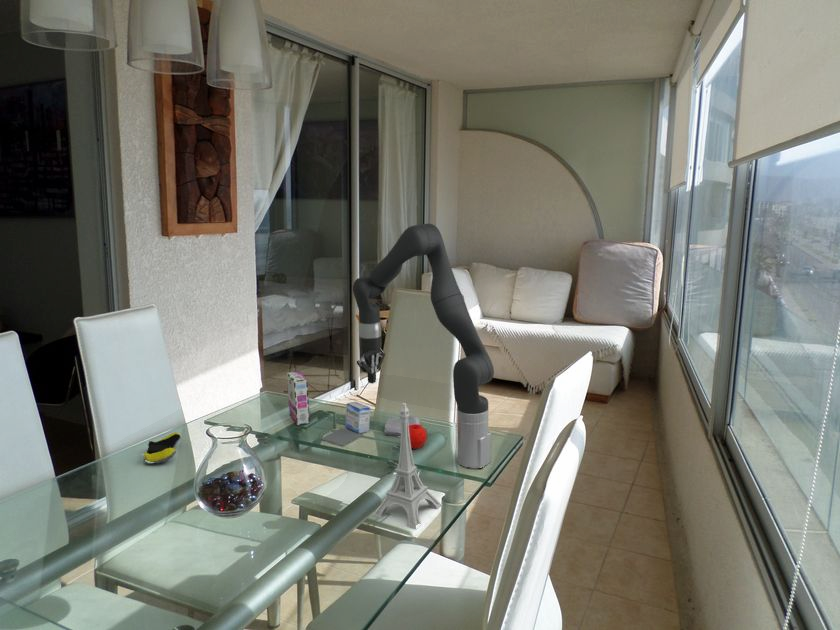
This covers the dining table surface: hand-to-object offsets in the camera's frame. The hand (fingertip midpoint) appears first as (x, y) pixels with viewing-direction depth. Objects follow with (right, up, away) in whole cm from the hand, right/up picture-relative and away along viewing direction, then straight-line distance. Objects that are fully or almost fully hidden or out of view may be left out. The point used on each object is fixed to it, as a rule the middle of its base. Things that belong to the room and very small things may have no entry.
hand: (372, 382), depth 226 cm
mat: (-9, -17, -10) cm, 22 cm away
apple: (+15, -19, -18) cm, 30 cm away
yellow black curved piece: (-64, -22, -20) cm, 71 cm away
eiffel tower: (+13, -28, -55) cm, 63 cm away
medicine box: (-5, -16, -4) cm, 17 cm away
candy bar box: (-26, -14, +7) cm, 30 cm away
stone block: (+11, -16, -6) cm, 21 cm away
